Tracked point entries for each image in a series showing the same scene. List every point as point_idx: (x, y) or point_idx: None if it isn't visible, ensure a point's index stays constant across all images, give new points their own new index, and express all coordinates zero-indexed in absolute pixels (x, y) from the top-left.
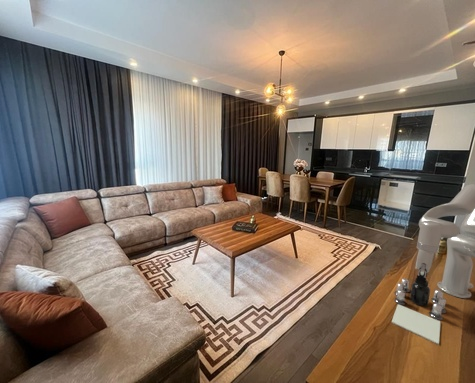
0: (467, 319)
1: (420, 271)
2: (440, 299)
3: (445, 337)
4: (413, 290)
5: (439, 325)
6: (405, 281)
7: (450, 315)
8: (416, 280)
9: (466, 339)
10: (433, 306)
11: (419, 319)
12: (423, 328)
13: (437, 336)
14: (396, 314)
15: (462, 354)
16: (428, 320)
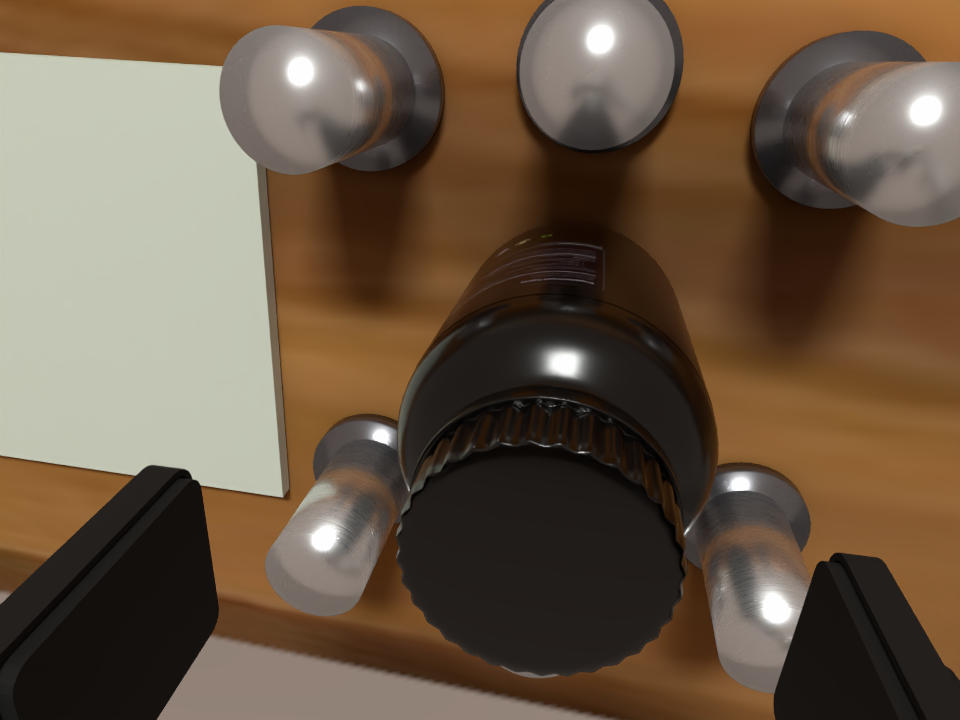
0: (554, 693)
1: (859, 706)
2: None
3: (98, 494)
4: (460, 309)
5: (205, 481)
6: (850, 148)
7: None
8: (110, 505)
9: (217, 620)
10: (303, 513)
11: (138, 322)
12: (16, 350)
13: (16, 446)
14: None
15: (4, 561)
16: (203, 401)
